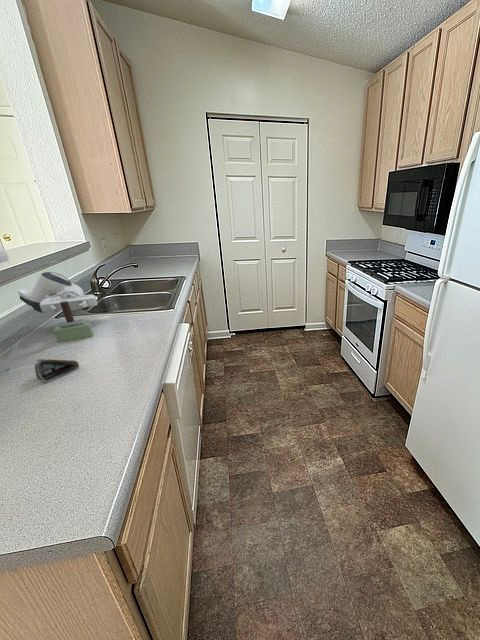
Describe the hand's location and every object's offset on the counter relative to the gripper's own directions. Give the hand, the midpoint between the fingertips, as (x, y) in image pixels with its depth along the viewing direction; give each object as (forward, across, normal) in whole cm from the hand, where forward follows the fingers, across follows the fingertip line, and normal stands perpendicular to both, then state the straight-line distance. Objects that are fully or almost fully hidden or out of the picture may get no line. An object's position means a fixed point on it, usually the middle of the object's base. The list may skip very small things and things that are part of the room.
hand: (68, 308), depth 135 cm
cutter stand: (+5, 0, -12) cm, 13 cm away
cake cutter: (+5, 0, -11) cm, 12 cm away
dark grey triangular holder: (+35, +4, -12) cm, 38 cm away
